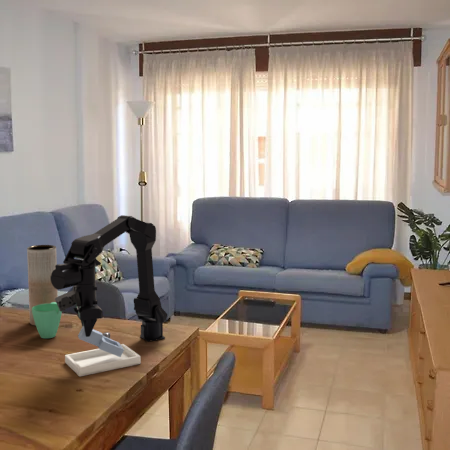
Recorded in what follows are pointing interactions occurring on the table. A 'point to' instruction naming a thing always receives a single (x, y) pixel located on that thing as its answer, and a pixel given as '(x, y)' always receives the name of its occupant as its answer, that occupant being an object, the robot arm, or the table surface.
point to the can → (106, 334)
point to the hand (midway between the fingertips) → (86, 334)
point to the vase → (41, 276)
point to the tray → (100, 361)
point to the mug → (47, 319)
